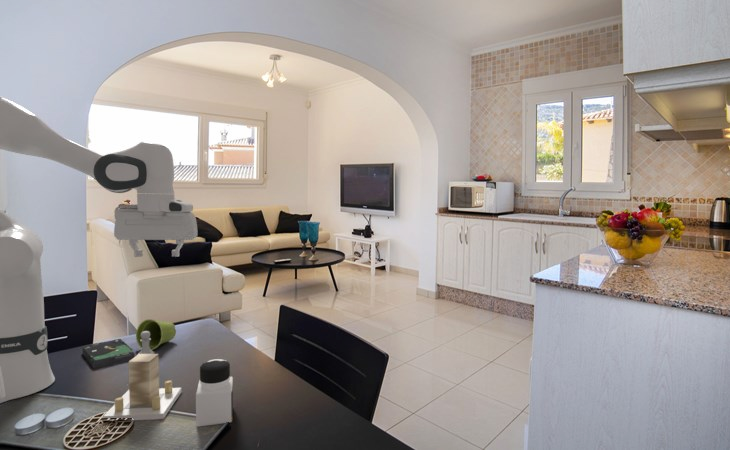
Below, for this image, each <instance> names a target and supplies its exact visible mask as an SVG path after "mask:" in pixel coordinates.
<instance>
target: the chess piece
mask: <svg viewBox="0 0 730 450" xmlns="http://www.w3.org/2000/svg"><path fill="white" fill-rule="evenodd" d="M149 337H150V332H149V331H143V332H142V333H141V338H142V339H141V340H140V341H141V342H142V348H141V350H140V351H139V352H138V353H137V355H138V354H155V351H154V350H151V349H150V347H149V341H150V340H151V338H149ZM137 355H136V356H137Z"/></svg>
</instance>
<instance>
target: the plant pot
mask: <svg viewBox="0 0 730 450" xmlns="http://www.w3.org/2000/svg"><path fill="white" fill-rule="evenodd" d="M143 331H149V332H150V337H149V338H151V340H150V341H149V347H150V349H151V350H152V351H154V350H155V349H157V348H158V347H159V346H160V345H163V344H164V343H167V342H170V341H172V340H173V339H174V338H175V336H176V334H177V330H176V326H175V324H174V323H172V322H171V321H157V320H156V319H152V318H151V319H149V318H148V319H144V320H143V321H142V322H141V323H140V324H139V325H138V326H137V329H136V332H135V339H136V342H137V344H138V346H139V347H140V348H141V349H142V342H141V341H140V340H141V339H142V338H141V333H142V332H143Z"/></svg>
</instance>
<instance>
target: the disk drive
mask: <svg viewBox="0 0 730 450" xmlns="http://www.w3.org/2000/svg"><path fill="white" fill-rule="evenodd" d="M82 355H83V356H84V357H85V359H87V361H88V362H89V364H90V365H91V366H92V368H93V369H97V368H102V367H105V366H110V365H114V364H118V363H123V362H127V361H130V360H131V359H133V358H134V357H135V352H134V350H133V348H132V347H130V346H129V345H128V344H127V343H126V342H125V341H124V340H123V339H122V338H117V339H114V340H108V341H102V342H99V343H97V344H94V345H93V344H89V345H87V344H86V345H83V346H82Z"/></svg>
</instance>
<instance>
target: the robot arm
mask: <svg viewBox="0 0 730 450" xmlns="http://www.w3.org/2000/svg"><path fill="white" fill-rule="evenodd" d="M0 150H2V151H7V152H11V153H15V154H20V155H26V156H31V157H38V158H42V159H47V160H51V161H54V162H57V163H60V164H61V165H64V166H66V167H69V168H71V169H74V170H76V171H78V172H81V173H83V174H85V175H88V176H89V177H91V178H93V179H94V180H95V181H96V182H97V183H98V184H99V185H100V187H102V188H103V189H105V190H106V191H109V192H111V193H113V194H114V193H115V194H124V193H127V192H130V191H132V190H133V189H135V190H136V198H137V199H136V201H137V203H136V204H125V203H124V204H120V205H118V206H117V207H115V209H114V219H115V221H114V229H113V235H114V236H113V237H114V238H116V240H117V241H121V240H122V241H123V240H125V241H126V240H128V242H129V245H130V247H131V249H132V250H133V254H134V255H133V256H134V258H141V257H143V255H144V254H143V252H144V251H143V249H140V248H139V246H138V243H139V241H142V240H143V241H152V240H153V241H175V244H176V247H175V249H172V250H171V258H172V257H173V258H177V257H180V255H181V254H180V250H181V249H182V248H183V245H184V243H185V242H184V241H193V240H195V239H197V237H198V224H197V223H198V222H197V218H196V215H195V214H194V213H193V210H194V205H193V204H192V203H190V202H187V201H184V200H180V199H177V198H175V190H174V186H173V183H174V179H175V167H174V166H175V165H174V158H173V154H172V152H171V150H170V149H169V148H168V147H166V146H165V145H163V144H159V143H156V142H150V141H141V142H139V143H137V144H136V145H134V146H132V147H129V148H126V149H124V150H120V151H116V152H112V153H110V152H109V153H107V154H101V153H99V152H96V151H94V150H91V149H90V148H88V147H85V146H83V145H80V144H79V143H77V142H74V141H72V140H70V139H68V138H66V137H64V136H63V135H61V134H60V133H59V132H56V131H55V130H54V129H52V127H50V126H49V125H48V124H46V122H45V121H43V120H42V119H41V117H40V118H39V117H38V116H37V115H36V114H34V113H32V112H31V111H30V110H28V109H26V108H25V107H23V106H22V105H19V104H17V103H15V102H13V101H11V100H9V99H7V98H6V97H3V96H0ZM43 247H44V246H43V241H42V240H41V237H39V236H38V234H36V233H35V232H34V231H33V230H31V229H30V228H28V227H27V226H25V225H24V224H22V223H21V222H20V221H18V220H16V219H15V218H13V217H12V216H10V215H9V214H7V213H5V212H4V211H2V210H1V209H0V404H2V403H4V402H7V401H10V400H14V399H19V398H22V397H26V396H29V395H32V394H35V393H37V392H40V391H42V390H44V389H46V388H48V387H50V386H51V385H52V384H53V383H54V382H55V381H56V377H55V375H54V373H53V371H52V369H51V364H50V361H49V356H48V350H47V349H48V341H49V340H48V328H47V326H46V325H45V302H44V291H43V281H42V278H43V277H42V268H41V267H42V266H41V258H42V254H43V251H44V248H43Z"/></svg>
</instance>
